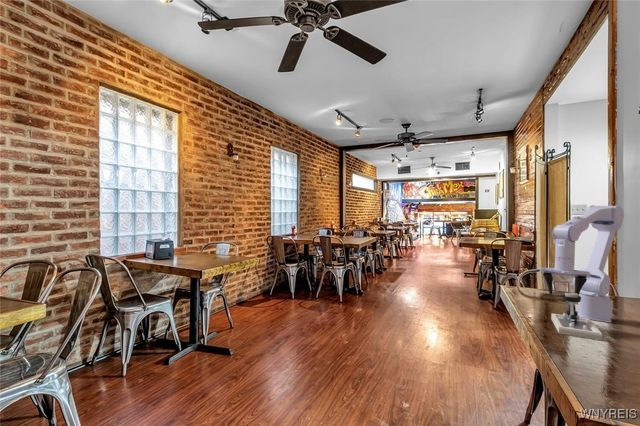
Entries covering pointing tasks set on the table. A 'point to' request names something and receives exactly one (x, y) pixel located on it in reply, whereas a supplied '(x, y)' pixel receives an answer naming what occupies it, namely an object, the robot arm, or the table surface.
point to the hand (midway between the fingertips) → (563, 295)
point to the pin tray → (576, 327)
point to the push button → (572, 305)
